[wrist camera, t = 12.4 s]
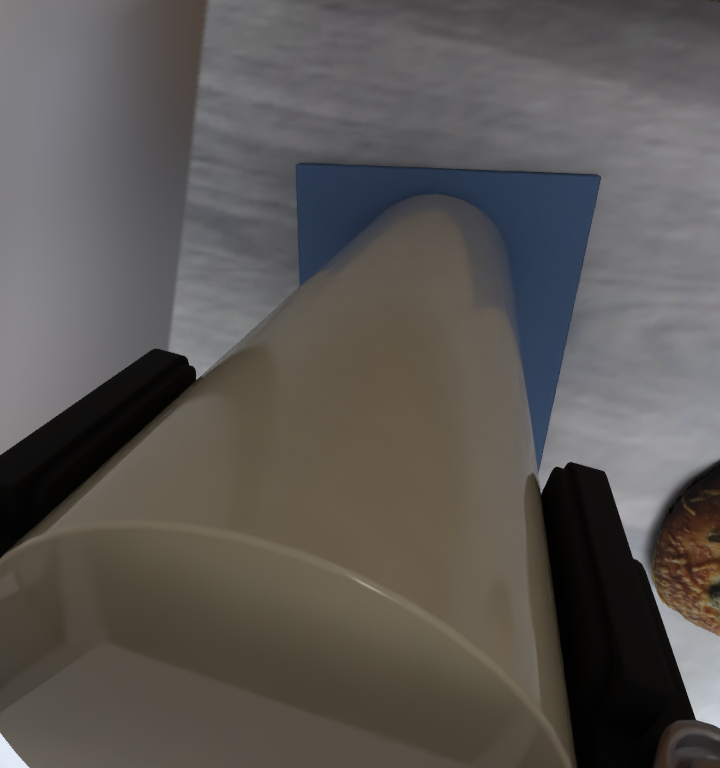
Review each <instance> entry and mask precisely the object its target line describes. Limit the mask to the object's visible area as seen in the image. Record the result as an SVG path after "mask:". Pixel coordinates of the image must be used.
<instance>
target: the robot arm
mask: <svg viewBox="0 0 720 768" xmlns="http://www.w3.org/2000/svg"><path fill="white" fill-rule="evenodd" d="M195 381H196V370H195V368H194V367H193V366H190V365H189V362H188V359H187V358H186V357H185V356H182V355H179V354H175V353H171V352H168V351H164V350H160V349H153V350H151V351H150V352H148V353H147V354H145V355H144V356H143V357H141V358H140V359H138V360H137V361H135V362H134V363H132V364H131V365H130V366H128V367H127V368H125V369H124V370H122V371H121V372H119V373H118V374H117V375H115V376H114V377H112V378H111V379H109V380H108V381H106V382H105V383H104V384H102V385H101V386H99V387H98V388H96V389H95V390H93V391H92V392H91V393H89V394H88V395H86V396H85V397H83V398H82V399H81V400H79V401H78V402H76V403H75V404H73V405H72V406H71V407H69V408H68V409H66V410H65V411H63V412H62V413H60V414H59V415H58V416H56V417H55V418H53V419H52V420H50V421H49V422H47V423H46V424H45V425H43V426H42V427H40V428H39V429H38V430H36V431H35V432H33V433H32V434H30V435H29V436H27V437H26V438H24V439H23V440H22V441H20V442H19V443H17V444H16V445H15V446H13V447H12V448H10V449H9V450H7V451H6V452H4V453H3V454H2V455H0V558H1V557H2V556H3V555H4V554H5V553H6V552H7V551H8V550H9V549H11V548H12V547H13V546H14V545H15V544H16V543H17V542H18V541H19V540H20V539H22V538H23V537H24V536H25V535H26V534H27V533H28V532H29V531H30V530H32V529H33V528H34V527H35V526H36V525H37V524H38V523H39V522H40V521H41V520H43V519H44V518H45V517H46V516H47V515H48V514H49V513H50V512H51V511H53V510H54V509H55V508H56V507H57V506H58V505H59V504H60V503H61V502H62V501H64V500H65V499H66V498H67V497H68V496H69V495H70V494H71V493H72V492H74V491H75V490H76V489H77V488H78V487H79V486H80V485H81V484H82V483H83V482H85V481H86V480H87V479H88V478H89V477H90V476H91V475H92V474H93V473H95V472H96V471H97V470H98V469H99V468H100V467H101V466H102V465H103V464H104V463H106V462H107V461H108V460H109V459H110V458H111V457H112V456H113V455H114V454H115V453H117V452H118V451H119V450H120V449H121V448H122V447H123V446H124V445H125V444H127V443H128V442H129V441H130V440H131V439H132V438H133V437H134V436H135V435H136V434H138V433H139V432H140V431H141V430H142V429H143V428H144V427H145V426H146V425H148V424H149V423H150V422H151V421H152V420H153V419H154V418H155V417H156V416H157V415H159V414H160V413H161V412H162V411H163V410H164V409H165V408H166V407H167V406H169V405H170V404H171V403H172V402H173V401H174V400H175V399H176V398H177V397H178V396H180V395H181V394H182V393H183V392H184V391H185V390H186V389H187V388H188V387H190V386H191V385H192V384H193V383H194V382H195ZM541 499H542V507H543V514H544V522H545V529H546V537H547V544H548V552H549V559H550V567H551V574H552V582H553V589H554V597H555V604H556V612H557V619H558V627H559V634H560V642H561V649H562V657H563V664H564V672H565V679H566V687H567V694H568V702H569V709H570V717H571V724H572V732H573V739H574V747H575V754H576V762H577V768H720V728H718V727H716V726H714V725H711V724H708V723H704V722H701V721H697V720H696V719H695V716H694V713H693V710H692V707H691V704H690V701H689V698H688V695H687V692H686V689H685V686H684V683H683V680H682V677H681V674H680V671H679V669H678V666H677V663H676V660H675V657H674V654H673V651H672V648H671V645H670V642H669V639H668V636H667V633H666V630H665V627H664V624H663V621H662V618H661V615H660V612H659V610H658V607H657V604H656V601H655V598H654V595H653V592H652V589H651V586H650V583H649V580H648V577H647V574H646V571H645V569H644V567H643V565H642V564H641V563H640V562H639V561H637V560H635V559H633V557H632V554H631V550H630V547H629V544H628V541H627V538H626V535H625V532H624V529H623V526H622V522H621V519H620V516H619V513H618V510H617V507H616V504H615V501H614V497H613V494H612V491H611V488H610V485H609V482H608V479H607V476H606V474H605V472H604V471H601V470H598V469H594V468H591V467H587V466H583V465H580V464H576V463H572V462H570V463H568V464H567V465H566V466H565V468H564V469H563V468H559V467H555V468H554V469H553V470H552V472H551V474H550V476H549V478H548V481H547V483H546V485H545V487H544V489H543V492H542V494H541Z"/></svg>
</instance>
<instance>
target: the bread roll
mask: <svg viewBox="0 0 720 768" xmlns="http://www.w3.org/2000/svg"><path fill="white" fill-rule="evenodd" d="M688 489H689V491H688V492H687V493H686V494H685V495H681V496H679V498H678V499H677V501H676V502H675V503H674V504H673V505H672V508H670V509H669V512H668V514H666V517H665V519H664V522H663V524H662V526H661V527H660V528H661V529H659V531H658V542H657V546H656V549H655V553H654V556H653V564H652V574H653V580H654V583H655V586H656V589H657V593H658V595H659V597H660V599H661V601H662V602H663V603H665V604H666V605H667V606H668V607H670V608H672V609H673V610H675V611H677V612H679V613H680V614H682V615H683V617H684V618H685V619H686V620H688V621H690V622H692V623H693V624H695V625H696V626H698V627H701V628H703V629H705V630H708V631H710V632H712V633H714V634H716V635H718V636H720V465H719V466H717V467H716V468H714V469H713V470H712V471H710V472H709V473H706V474H705V475H703V476H702V477H701V478H699V479H698V480H695V482H693V483H692V484H691V485H690V486H689V487H688V488H687V490H688Z"/></svg>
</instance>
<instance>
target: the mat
mask: <svg viewBox="0 0 720 768" xmlns="http://www.w3.org/2000/svg"><path fill="white" fill-rule="evenodd" d="M600 180H601V176H599V175H595V174H569V173H544V172H519V171H494V170H469V169H444V168H419V167H393V166H368V165H343V164H318V163H298V164H296V185H297V214H298V244H299V273H300V286H301V285H302V284H303V283H304V282H306V281H307V280H308V279H309V278H310V277H311V276H312V275H313V274H314V273H316V272H317V271H318V270H319V269H320V268H321V267H322V266H323V265H324V264H325V263H327V262H328V261H329V260H330V259H331V258H332V257H333V256H334V255H335V254H336V253H338V252H339V251H340V250H341V249H342V248H343V247H344V246H345V245H346V244H348V243H349V242H350V241H351V240H352V239H353V238H354V237H355V236H356V235H357V234H359V233H360V232H361V231H362V230H363V229H364V228H365V227H366V226H367V225H369V224H370V223H371V222H372V221H373V220H374V219H375V218H376V217H377V216H378V215H380V214H381V213H382V212H383V211H384V210H386V209H387V208H389V207H390V206H392V205H393V204H395V203H397V202H399V201H401V200H404V199H407V198H410V197H414V196H418V195H426V194H440V195H447V196H452V197H455V198H458V199H461V200H464V201H466V202H468V203H470V204H472V205H474V206H475V207H476V208H478V209H479V210H481V211H482V212H483V213H484V214H485V215H486V216H487V217H489V218H490V219H491V221H492V222H493V223H494V224H495V226H496V227H497V228H498V230H499V232H500V233H501V235H502V237H503V239H504V242H505V244H506V247H507V250H508V254H509V259H510V267H511V274H512V282H513V289H514V297H515V304H516V312H517V319H518V327H519V334H520V342H521V349H522V357H523V364H524V372H525V379H526V387H527V394H528V402H529V409H530V417H531V424H532V432H533V439H534V447H535V454H536V462H537V469H538V472H539V467H540V463H541V458H542V453H543V449H544V444H545V439H546V434H547V430H548V425H549V420H550V416H551V411H552V406H553V401H554V397H555V392H556V387H557V383H558V378H559V373H560V368H561V364H562V359H563V354H564V350H565V345H566V340H567V335H568V331H569V326H570V321H571V317H572V312H573V307H574V302H575V298H576V293H577V288H578V284H579V279H580V274H581V269H582V265H583V260H584V255H585V251H586V246H587V241H588V236H589V232H590V227H591V222H592V218H593V213H594V208H595V203H596V199H597V194H598V189H599V185H600Z"/></svg>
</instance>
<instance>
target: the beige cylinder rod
mask: <svg viewBox="0 0 720 768" xmlns="http://www.w3.org/2000/svg"><path fill="white" fill-rule="evenodd" d="M0 733H1V734H2V735H3V737H4V738H5V739H6V741H7V742H8V743H9V744H10V746H11V747H12V748H13V749H14V751H15V752H16V753H17V754H18V756H19V757H20V758H21V759H22V760H23V761H24V762H25V763H26V764H27V765H28V766H29V767H30V768H577V762H576V754H575V747H574V739H573V732H572V724H571V717H570V709H569V702H568V694H567V687H566V679H565V672H564V664H563V657H562V649H561V642H560V634H559V627H558V619H557V612H556V604H555V597H554V589H553V582H552V574H551V567H550V559H549V552H548V544H547V537H546V529H545V522H544V514H543V507H542V499H541V492H540V484H539V477H538V469H537V462H536V454H535V447H534V439H533V432H532V424H531V417H530V409H529V402H528V394H527V387H526V379H525V372H524V364H523V357H522V349H521V342H520V334H519V327H518V319H517V312H516V304H515V297H514V289H513V282H512V274H511V267H510V259H509V254H508V250H507V247H506V244H505V242H504V239H503V237H502V235H501V233H500V232H499V230H498V228H497V227H496V226H495V224H494V223H493V222H492V221H491V219H490V218H489V217H487V216H486V215H485V214H484V213H483V212H482V211H481V210H479V209H478V208H476V207H475V206H474V205H472V204H470V203H468V202H466V201H464V200H461V199H458V198H455V197H452V196H447V195H440V194H426V195H418V196H414V197H410V198H407V199H404V200H401V201H399V202H397V203H395V204H393V205H392V206H390V207H389V208H387V209H386V210H384V211H383V212H382V213H381V214H380V215H378V216H377V217H376V218H375V219H374V220H373V221H372V222H371V223H370V224H369V225H367V226H366V227H365V228H364V229H363V230H362V231H361V232H360V233H359V234H357V235H356V236H355V237H354V238H353V239H352V240H351V241H350V242H349V243H348V244H346V245H345V246H344V247H343V248H342V249H341V250H340V251H339V252H338V253H336V254H335V255H334V256H333V257H332V258H331V259H330V260H329V261H328V262H327V263H325V264H324V265H323V266H322V267H321V268H320V269H319V270H318V271H317V272H316V273H314V274H313V275H312V276H311V277H310V278H309V279H308V280H307V281H306V282H304V283H303V284H302V285H301V286H300V287H299V288H298V289H297V290H296V291H295V292H293V293H292V294H291V295H290V296H289V297H288V298H287V299H286V300H285V301H283V302H282V303H281V304H280V305H279V306H278V307H277V308H276V309H275V310H274V311H272V312H271V313H270V314H269V315H268V316H267V317H266V318H265V319H264V320H262V321H261V322H260V323H259V324H258V325H257V326H256V327H255V328H254V329H253V330H251V331H250V332H249V333H248V334H247V335H246V336H245V337H244V338H243V339H241V340H240V341H239V342H238V343H237V344H236V345H235V346H234V347H233V348H232V349H230V350H229V351H228V352H227V353H226V354H225V355H224V356H223V357H222V358H220V359H219V360H218V361H217V362H216V363H215V364H214V365H213V366H212V367H211V368H209V369H208V370H207V371H206V372H205V373H204V374H203V375H202V376H201V377H199V378H198V379H197V380H196V381H195V382H194V383H193V384H192V385H191V386H190V387H188V388H187V389H186V390H185V391H184V392H183V393H182V394H181V395H180V396H178V397H177V398H176V399H175V400H174V401H173V402H172V403H171V404H170V405H169V406H167V407H166V408H165V409H164V410H163V411H162V412H161V413H160V414H159V415H157V416H156V417H155V418H154V419H153V420H152V421H151V422H150V423H149V424H148V425H146V426H145V427H144V428H143V429H142V430H141V431H140V432H139V433H138V434H136V435H135V436H134V437H133V438H132V439H131V440H130V441H129V442H128V443H127V444H125V445H124V446H123V447H122V448H121V449H120V450H119V451H118V452H117V453H115V454H114V455H113V456H112V457H111V458H110V459H109V460H108V461H107V462H106V463H104V464H103V465H102V466H101V467H100V468H99V469H98V470H97V471H96V472H95V473H93V474H92V475H91V476H90V477H89V478H88V479H87V480H86V481H85V482H83V483H82V484H81V485H80V486H79V487H78V488H77V489H76V490H75V491H74V492H72V493H71V494H70V495H69V496H68V497H67V498H66V499H65V500H64V501H62V502H61V503H60V504H59V505H58V506H57V507H56V508H55V509H54V510H53V511H51V512H50V513H49V514H48V515H47V516H46V517H45V518H44V519H43V520H41V521H40V522H39V523H38V524H37V525H36V526H35V527H34V528H33V529H32V530H30V531H29V532H28V533H27V534H26V535H25V536H24V537H23V538H22V539H20V540H19V541H18V542H17V543H16V544H15V545H14V546H13V547H12V548H11V549H9V550H8V551H7V552H6V553H5V554H4V555H3V556H2V557H1V558H0Z"/></svg>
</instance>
